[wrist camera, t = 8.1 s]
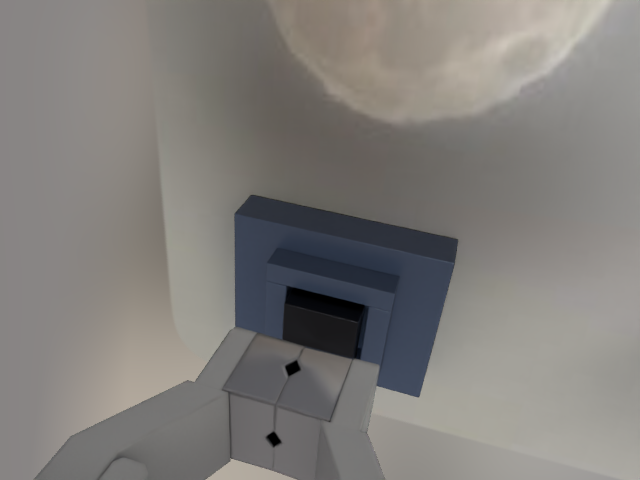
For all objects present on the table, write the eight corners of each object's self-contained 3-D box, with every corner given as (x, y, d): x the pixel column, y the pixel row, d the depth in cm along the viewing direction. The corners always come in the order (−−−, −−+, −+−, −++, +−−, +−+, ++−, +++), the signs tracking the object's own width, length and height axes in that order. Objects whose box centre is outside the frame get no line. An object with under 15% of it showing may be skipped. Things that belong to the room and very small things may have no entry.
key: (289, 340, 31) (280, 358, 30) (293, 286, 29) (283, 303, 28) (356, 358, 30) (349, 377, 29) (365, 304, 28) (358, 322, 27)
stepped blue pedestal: (249, 323, 37) (224, 363, 33) (251, 194, 31) (221, 227, 28) (424, 370, 34) (415, 418, 31) (458, 239, 29) (452, 281, 26)
